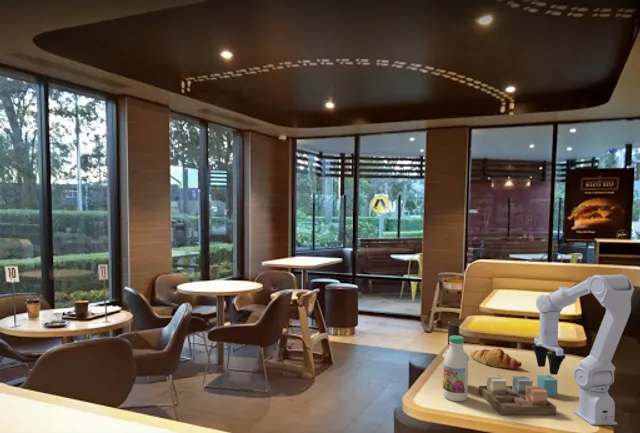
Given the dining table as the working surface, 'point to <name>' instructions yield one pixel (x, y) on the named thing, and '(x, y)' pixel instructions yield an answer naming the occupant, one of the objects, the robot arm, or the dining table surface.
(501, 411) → the puzzle board
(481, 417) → the dining table surface
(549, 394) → the teal block
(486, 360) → the croissant
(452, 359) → the milk bottle
